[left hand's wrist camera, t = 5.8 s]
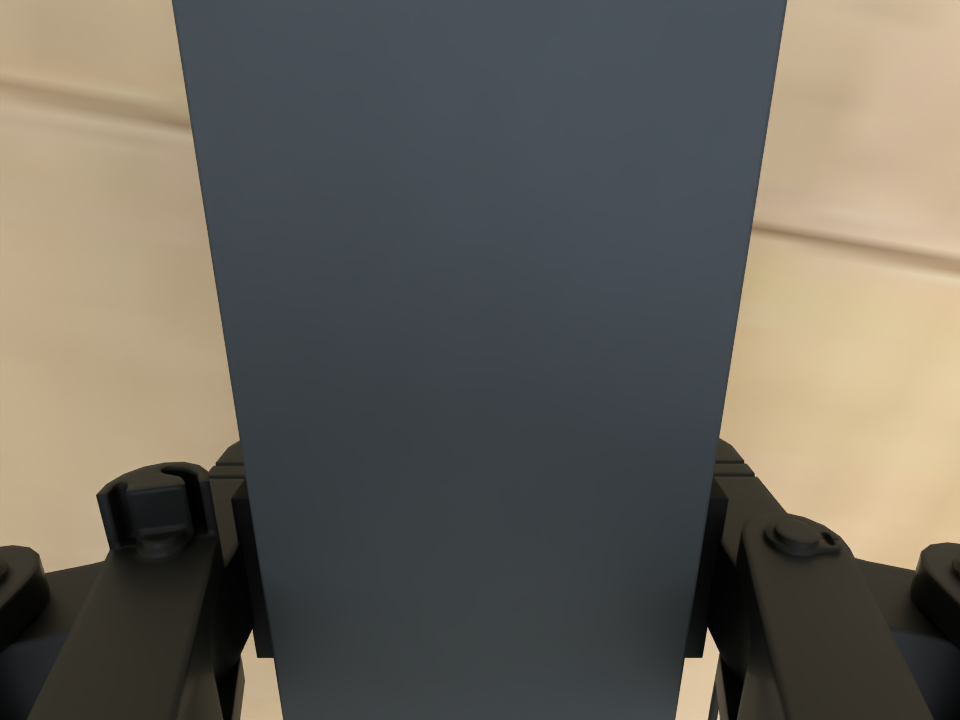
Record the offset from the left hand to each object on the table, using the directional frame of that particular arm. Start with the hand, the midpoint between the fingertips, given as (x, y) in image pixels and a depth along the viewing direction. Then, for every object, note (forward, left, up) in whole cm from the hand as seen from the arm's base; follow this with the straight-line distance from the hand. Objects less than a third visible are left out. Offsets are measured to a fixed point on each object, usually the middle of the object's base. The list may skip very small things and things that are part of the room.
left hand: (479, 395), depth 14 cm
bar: (+20, +22, -1) cm, 30 cm away
